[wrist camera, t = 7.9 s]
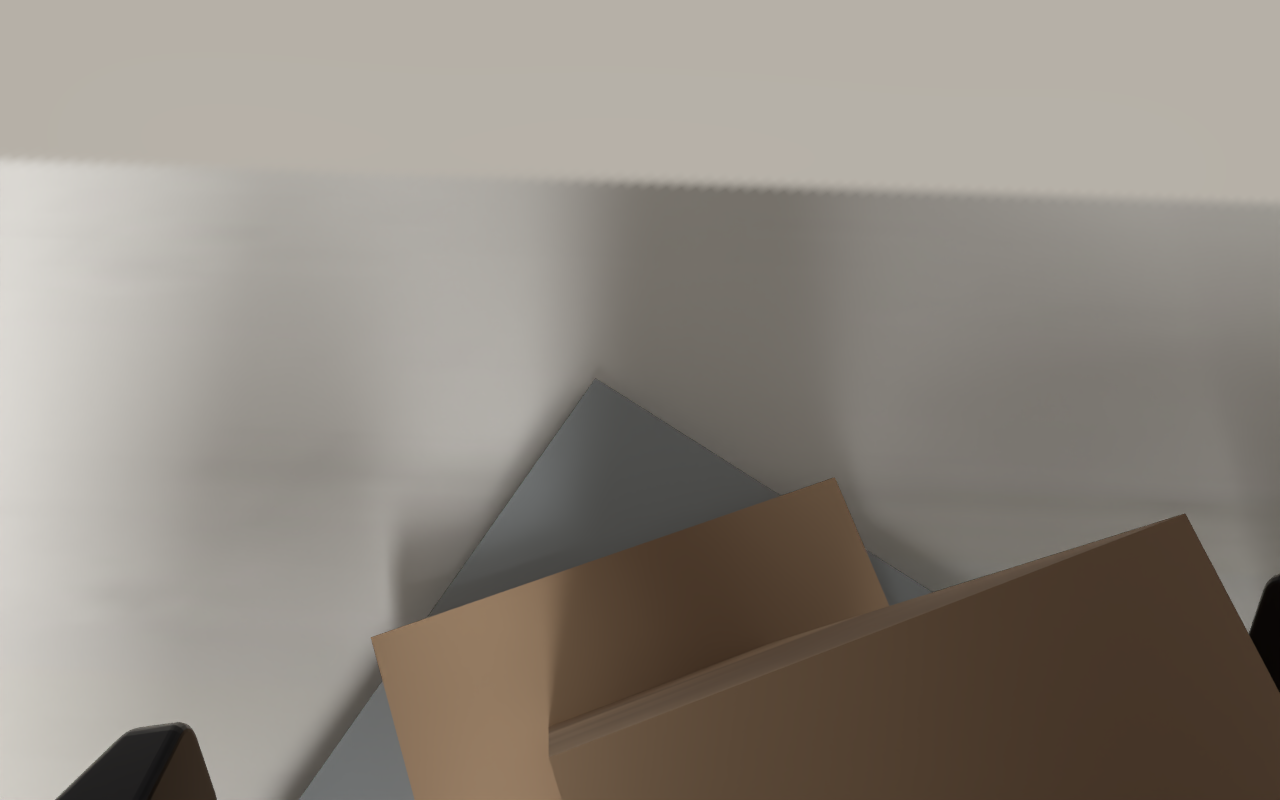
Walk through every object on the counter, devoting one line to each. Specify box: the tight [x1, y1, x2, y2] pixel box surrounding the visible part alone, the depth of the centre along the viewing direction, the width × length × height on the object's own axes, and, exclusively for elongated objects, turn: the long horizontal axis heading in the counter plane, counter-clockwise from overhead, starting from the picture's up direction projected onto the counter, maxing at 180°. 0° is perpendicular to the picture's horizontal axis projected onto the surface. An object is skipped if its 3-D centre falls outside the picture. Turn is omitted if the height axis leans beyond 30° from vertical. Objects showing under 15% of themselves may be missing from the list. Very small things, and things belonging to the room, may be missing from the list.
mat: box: [299, 378, 933, 800], centre depth 14 cm, size 9×9×1 cm
